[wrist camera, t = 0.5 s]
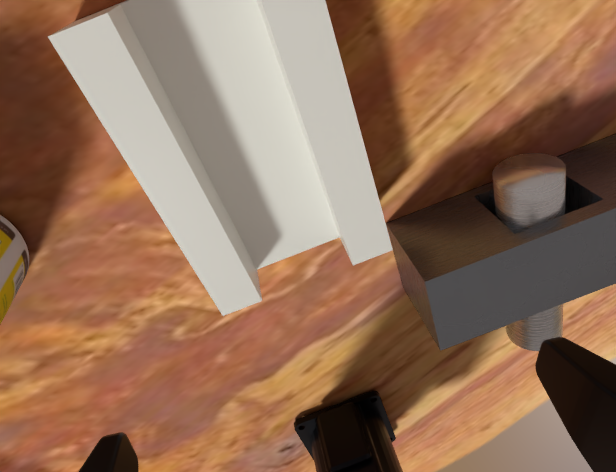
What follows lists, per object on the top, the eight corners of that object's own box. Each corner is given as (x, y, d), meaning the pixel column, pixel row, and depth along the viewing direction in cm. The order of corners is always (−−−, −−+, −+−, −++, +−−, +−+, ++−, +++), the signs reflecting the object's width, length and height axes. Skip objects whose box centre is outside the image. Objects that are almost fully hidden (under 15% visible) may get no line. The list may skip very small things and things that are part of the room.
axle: (543, 304, 30) (574, 340, 27) (497, 320, 30) (522, 357, 27) (541, 146, 23) (581, 173, 20) (481, 167, 23) (512, 197, 20)
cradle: (369, 213, 24) (392, 250, 21) (220, 271, 24) (222, 316, 21) (288, -66, 17) (307, -68, 14) (74, 21, 17) (47, 36, 14)
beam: (619, 203, 27) (697, 251, 23) (403, 287, 27) (440, 350, 23) (627, 129, 24) (718, 168, 20) (386, 223, 24) (424, 282, 20)
